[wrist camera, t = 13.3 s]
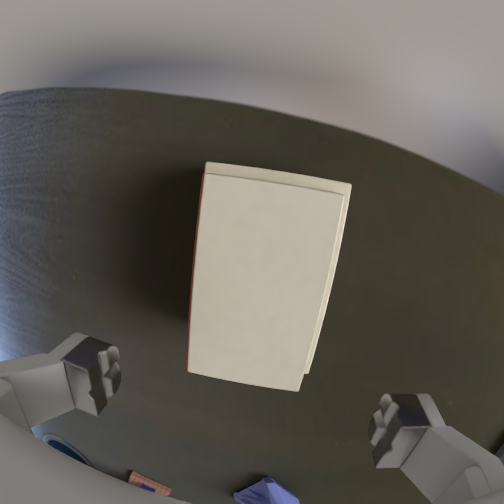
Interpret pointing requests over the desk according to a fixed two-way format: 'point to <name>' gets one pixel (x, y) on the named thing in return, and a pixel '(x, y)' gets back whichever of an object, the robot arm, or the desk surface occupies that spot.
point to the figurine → (148, 484)
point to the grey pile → (500, 454)
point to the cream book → (259, 278)
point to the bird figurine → (266, 494)
